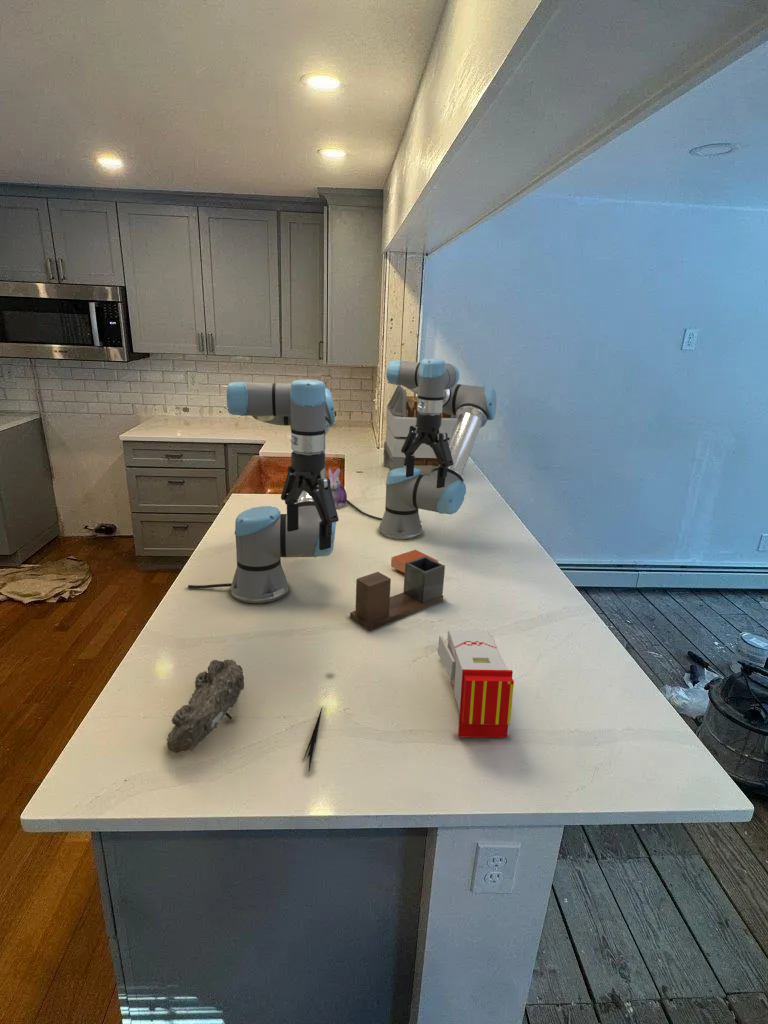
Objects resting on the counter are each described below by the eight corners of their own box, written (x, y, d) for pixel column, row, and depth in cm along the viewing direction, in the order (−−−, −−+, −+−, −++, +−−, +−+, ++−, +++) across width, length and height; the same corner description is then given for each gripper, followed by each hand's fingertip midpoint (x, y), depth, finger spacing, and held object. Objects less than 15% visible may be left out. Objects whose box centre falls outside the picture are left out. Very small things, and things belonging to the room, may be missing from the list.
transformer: (382, 463, 289) (386, 382, 275) (445, 464, 293) (451, 384, 279) (390, 482, 257) (394, 392, 243) (460, 483, 261) (468, 394, 247)
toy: (488, 613, 130) (523, 677, 101) (484, 667, 133) (517, 744, 104) (435, 612, 130) (455, 676, 101) (432, 666, 133) (451, 743, 103)
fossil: (192, 660, 117) (244, 628, 112) (224, 691, 120) (276, 661, 115) (142, 746, 98) (202, 712, 93) (182, 779, 101) (242, 748, 96)
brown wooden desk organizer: (350, 617, 145) (351, 577, 141) (422, 589, 161) (425, 552, 157) (369, 631, 139) (371, 589, 135) (443, 600, 155) (446, 562, 151)
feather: (331, 679, 122) (336, 673, 122) (307, 777, 96) (313, 769, 95) (324, 675, 122) (329, 669, 121) (298, 772, 95) (304, 764, 95)
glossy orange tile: (390, 569, 172) (391, 557, 171) (414, 561, 178) (415, 549, 177) (413, 581, 165) (414, 568, 164) (437, 573, 171) (438, 560, 170)
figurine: (329, 510, 219) (330, 473, 214) (320, 502, 228) (320, 466, 222) (352, 507, 223) (353, 470, 218) (341, 499, 232) (342, 464, 227)
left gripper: (265, 442, 133) (267, 526, 140) (326, 466, 115) (325, 561, 123) (292, 438, 138) (293, 520, 145) (355, 461, 120) (353, 552, 127)
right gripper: (392, 407, 175) (389, 473, 182) (451, 421, 157) (445, 494, 164) (409, 405, 179) (406, 470, 186) (469, 419, 162) (462, 490, 169)
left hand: (308, 539), depth 134 cm, fingers open, 13 cm apart
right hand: (424, 481), depth 175 cm, fingers open, 13 cm apart
